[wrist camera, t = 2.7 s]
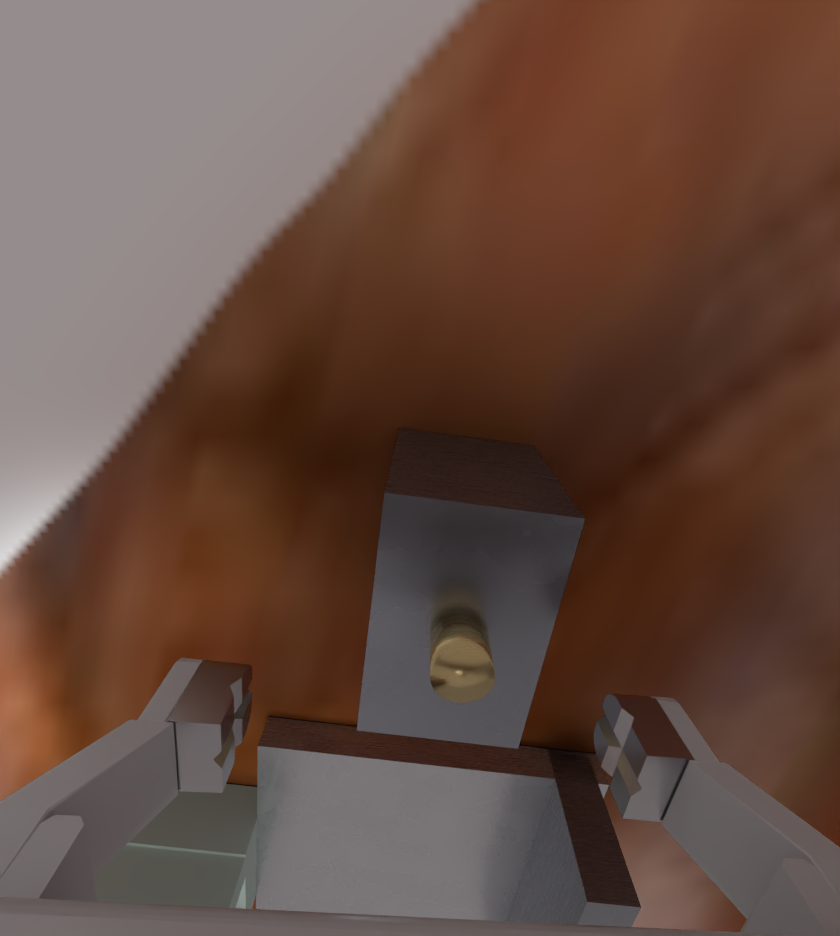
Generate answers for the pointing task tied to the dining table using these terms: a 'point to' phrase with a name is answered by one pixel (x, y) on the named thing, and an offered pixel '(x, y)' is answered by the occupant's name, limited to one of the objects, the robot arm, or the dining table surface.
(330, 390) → the dining table surface
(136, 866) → the ram guide
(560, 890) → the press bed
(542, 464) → the block
